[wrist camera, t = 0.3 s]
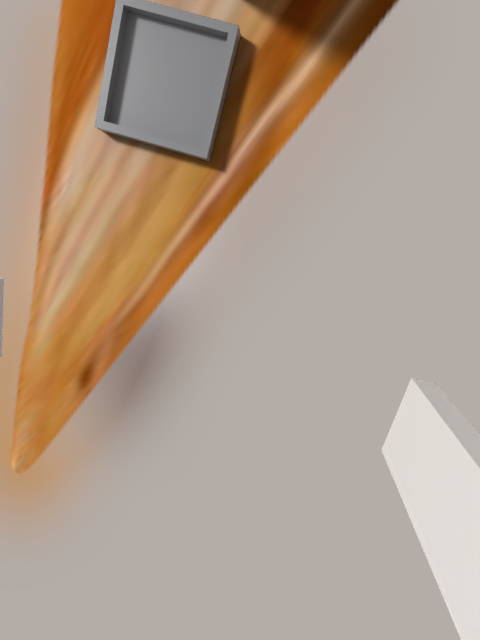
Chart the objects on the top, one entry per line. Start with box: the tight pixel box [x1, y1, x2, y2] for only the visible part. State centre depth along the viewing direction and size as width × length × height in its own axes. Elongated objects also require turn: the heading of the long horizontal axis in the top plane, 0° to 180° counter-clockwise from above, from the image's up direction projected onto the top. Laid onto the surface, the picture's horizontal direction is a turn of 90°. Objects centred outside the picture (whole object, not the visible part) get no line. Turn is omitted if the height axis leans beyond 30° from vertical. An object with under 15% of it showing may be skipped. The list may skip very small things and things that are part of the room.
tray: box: [95, 0, 241, 162], centre depth 34 cm, size 11×11×2 cm
